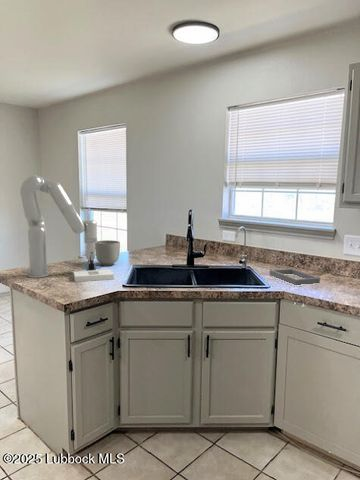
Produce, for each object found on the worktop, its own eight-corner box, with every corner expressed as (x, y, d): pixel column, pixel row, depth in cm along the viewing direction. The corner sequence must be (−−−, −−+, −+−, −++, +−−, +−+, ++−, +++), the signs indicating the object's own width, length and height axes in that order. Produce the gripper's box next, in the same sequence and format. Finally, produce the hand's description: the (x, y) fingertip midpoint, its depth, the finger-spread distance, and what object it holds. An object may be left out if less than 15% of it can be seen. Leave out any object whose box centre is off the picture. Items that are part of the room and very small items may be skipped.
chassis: (75, 281, 209) (75, 276, 208) (73, 276, 221) (73, 271, 220) (113, 279, 216) (113, 274, 216) (109, 274, 228) (109, 269, 228)
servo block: (82, 274, 226) (82, 262, 225) (81, 272, 230) (81, 261, 229) (100, 273, 230) (100, 261, 229) (99, 271, 234) (99, 260, 233)
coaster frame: (295, 286, 210) (296, 280, 209) (269, 275, 235) (269, 269, 234) (319, 284, 216) (320, 278, 215) (291, 274, 240) (291, 268, 240)
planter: (91, 263, 257) (90, 241, 255) (113, 261, 267) (113, 239, 265) (101, 268, 244) (101, 244, 241) (124, 265, 254) (124, 242, 252)
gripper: (83, 238, 234) (83, 266, 236) (85, 242, 218) (86, 272, 221) (95, 238, 236) (95, 265, 239) (98, 242, 221) (98, 271, 223)
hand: (91, 268), depth 230 cm, fingers closed on servo block, 4 cm apart
